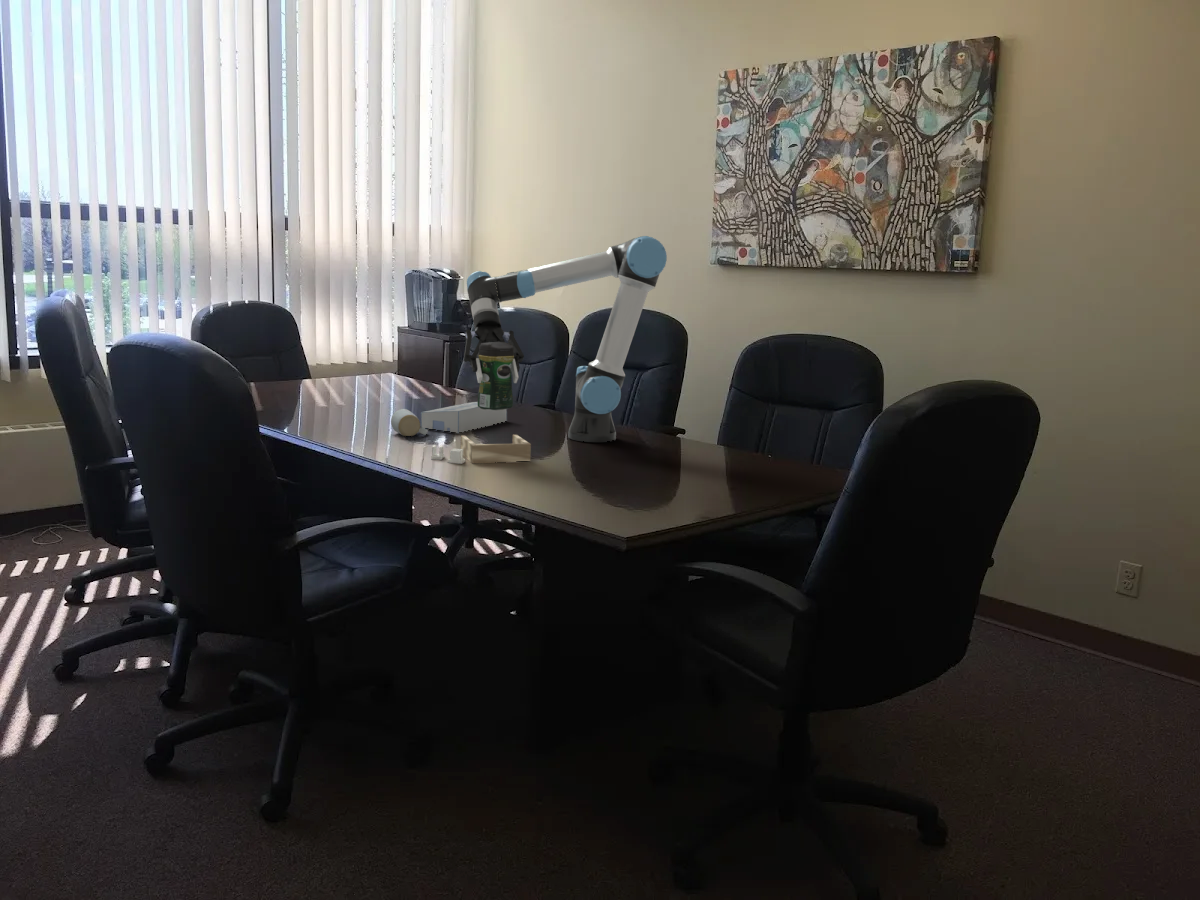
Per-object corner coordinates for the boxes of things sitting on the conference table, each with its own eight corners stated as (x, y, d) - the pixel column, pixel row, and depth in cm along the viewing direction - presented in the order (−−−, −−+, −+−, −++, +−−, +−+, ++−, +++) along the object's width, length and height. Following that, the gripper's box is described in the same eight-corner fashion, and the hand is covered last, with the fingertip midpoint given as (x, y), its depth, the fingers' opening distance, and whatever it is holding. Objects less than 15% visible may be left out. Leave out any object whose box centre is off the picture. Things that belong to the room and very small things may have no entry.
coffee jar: (499, 405, 275) (501, 340, 272) (517, 409, 270) (519, 342, 266) (472, 407, 269) (473, 340, 265) (489, 411, 263) (492, 343, 260)
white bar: (471, 418, 338) (471, 396, 336) (506, 422, 332) (507, 400, 330) (420, 429, 311) (420, 406, 310) (458, 434, 305) (458, 411, 304)
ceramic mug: (398, 438, 293) (398, 413, 291) (390, 433, 300) (390, 408, 298) (431, 437, 298) (432, 412, 296) (423, 432, 305) (423, 408, 303)
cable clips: (437, 455, 269) (437, 443, 269) (470, 462, 263) (470, 449, 262) (425, 458, 265) (425, 446, 265) (458, 464, 259) (458, 452, 258)
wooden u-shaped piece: (460, 452, 275) (460, 435, 274) (516, 451, 281) (516, 434, 280) (472, 463, 261) (472, 445, 260) (530, 461, 267) (530, 444, 266)
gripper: (520, 327, 283) (533, 388, 272) (445, 325, 275) (456, 388, 264) (526, 310, 277) (540, 371, 266) (449, 308, 269) (460, 371, 258)
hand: (498, 380), depth 265 cm, fingers closed on coffee jar, 9 cm apart
